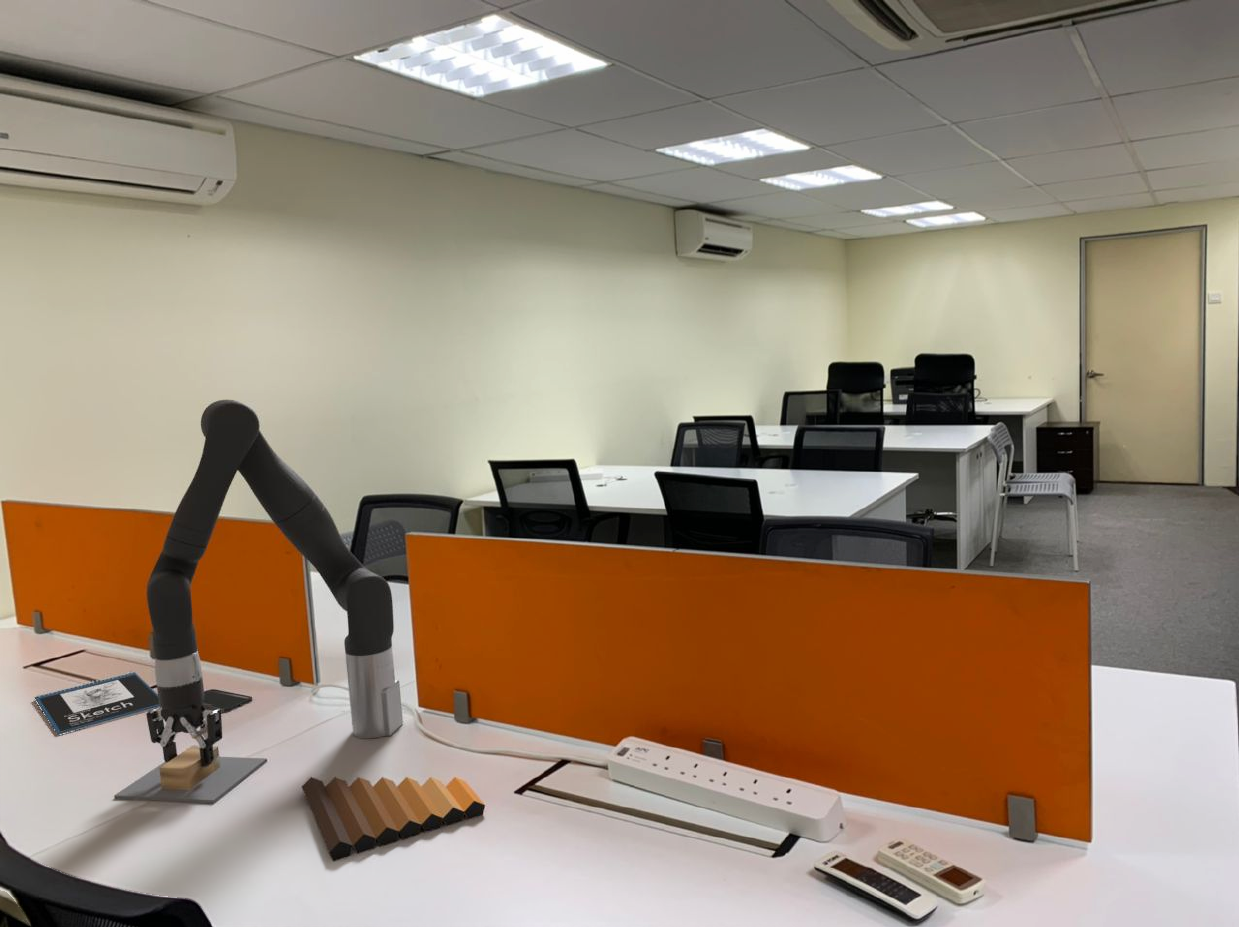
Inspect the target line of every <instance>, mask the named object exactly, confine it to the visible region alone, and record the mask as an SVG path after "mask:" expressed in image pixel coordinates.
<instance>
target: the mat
mask: <svg viewBox="0 0 1239 927" xmlns="http://www.w3.org/2000/svg"><path fill="white" fill-rule="evenodd" d="M178 755H179V754H177V756H178ZM219 758H220V768H218V769H217V770H215V771H214V772H213V773H211V774H210V775H209V776H207V777H206V778H205V779H203V780H202V781H201V782H199V783H198V784H197V785H195V786H194V787H192V788H191V789H190V790H176V789H162V785H161V777H160V769H159V768H160V767H161V766H163V765H164V764H166V762H165V761H164V762H162V763H161V764H159V765H158V766H156V767H155V768H153V769H152V770H150V771H149V772H147V773H146V774H145V775H143V776H141V777H140V778H138V779H137V780H135V781H134V782H132V783H131V784H129V785H127V786H126V787H125V788H123V789H121V790H120V791H119V792H117V793H116V794H114V796H113V798H114V799H115V800H116V799H118V800H134V801H135V800H138V801H154V802H155V801H156V802H175V803H176V802H178V803H180V802H181V803H193V804H194V803H197V804H215V803H217V802H218V801H220V799H222V798H223V797H224V796H225V795H226V794H228V793H229V792H230V791H232V790H233V789H235V788H236V787H237V786H239V784H241V783H242V782H243V781H245V780H246V779H247V778H248V777H250V776H251V775H252V774H253V773H254V772H256V771H257V770H259V768H260V767H262V766H263V765H264V764H266V763H267V762H268V759H267V758H262V757H240V756H239V757H235V756H219Z"/></svg>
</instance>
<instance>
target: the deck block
mask: <svg viewBox="0 0 1239 927" xmlns="http://www.w3.org/2000/svg"><path fill="white" fill-rule="evenodd" d="M199 748H201V747H200V745H191V746H190V747H188V748H186V749H185V750H184V751H182V752H181V753H179V754H177V755H178V756H176V757H175V758H173V759H172V760H170V761H169V762H167V763H166V764H164V765H163V766H161V767H160V768H159V769H160V777H161V785H162V789H176V790H190V789H191V788H192V787H194V786H195V785H197V784H198V783H199V782H201V781H202V780H203V779H205V778H206V777H207V776H209V775H210V774H211V773H213V772H214V771H215V770H217V769H218V768H220V758H219V757H220V752H219V746H217V745H216V746H214V745H213V753H214V760H213V761H212V763H211V764H210V765H208V766H207V767H202V765H201V757H200V749H199Z"/></svg>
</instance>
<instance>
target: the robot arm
mask: <svg viewBox="0 0 1239 927" xmlns="http://www.w3.org/2000/svg"><path fill="white" fill-rule="evenodd" d="M200 429H201V432H202V434H203V437H204V438H205V439H204V442H203V443H204V444H203V447H202V448H203V449H202V453H201V457H200V461H199V463H198V466H197V469H196V472H195V474H194V476H193V478H192V480H191V482H190V484H189V486H188V488H187V489H186V491H185V493H184V494H183V496H182V498H181V500H180V502H179V504H178V506H177V507H176V510H175V513H174V515H173V518H172V520H171V523H170V525H169V528H168V531H167V534H166V536H165V538H164V543H163V547H162V550H161V552H160V554H159V556H158V558H157V560H156V562H155V565H154V567H153V569H152V571H151V573H150V576H149V578H148V581H147V585H146V599H147V600H146V602H147V607H148V613H149V617H150V624H151V628H152V646H153V653H154V654H153V655H154V676H155V682H156V691H157V692H156V693H157V694H158V700H159V706H160V707H161V708H160V707H156V708H155V709H153V710H150V711H147V712H146V714H145V715H146V720H147V726H148V730H149V736H150V737H149V738H150V742H151V743H152V744H156V743H157V744H160V747H162V754H163V760H164V762H166V763H167V762H169V761H170V760H172V759H173V758H175V757H176V756H177V755H178V751H177V743H176V741H175V740H176V737H177V735H178V734H179V733H185V734H189V735H190V736H191V738H192V739H193V740H195V741H196V742H197V743H198V746H200V747H201V748H199V749H200V757H201V765H202V767H207V766H208V765H210V764H211V763H212V761H213V760H214V753H213V746H214V745H215V744H216V743H217V742H219V741H221V740H222V739H223V723H222V712H221V710H220V709H216V710H214V711H213V710H208V709H206V708H205V707H204V704H203V700H204V696H205V695H204V691H205V689H204V688H205V687H204V680H203V679H204V678H203V671H202V663H201V658H200V654H199V651H198V642H197V634H196V628H195V624H194V623H193V622H194V621H193V620H194V619H193V602H192V600H193V599H192V590H191V585H192V581H193V579H194V575H195V574H196V570H197V567H198V564H199V561H200V560H202V558H203V556H204V555H205V553H206V551H207V548H208V545H209V543H210V540H211V537H212V535H213V533H214V529H215V527H216V524H217V522H218V518H219V516H220V513H221V511H222V507H223V505H224V502H225V498H226V496H227V494H228V492H229V489H230V487H231V485H232V482H233V480H234V479H235V476H236V474H237V472H239V473H240V475H241V476H242V478H243V479H244V481H245V482H246V484H247V485H248V486H249V488H250V490H251V491H252V493H253V494H254V496H255V498H256V499H257V501H258V502H259V504H260V505H261V507H262V508H263V509H264V511H265V512H266V513H267V515H268V516H269V518H270V520H271V521H272V522H273V523H274V524H275V526H276V527H277V528H278V529H279V531H280V532H281V533H282V534H283V535H284V537H286V539H287V540H288V541H289V542H290V543H291V544H292V545H293V547H294V548H295V549H296V550H297V551H298V552H299V553H300V554H301V556H303V557H304V558H305V559H306V560H307V561H308V562H309V563H310V564H311V565H312V566H313V567H314V569H315V570H316V571H317V573H318V574H319V576H321V578H322V580H323V581H324V584H326V586H327V587H328V589H329V591H330V592H331V594H332V596H333V598H334V599H335V601H336V602H337V604H338V605H339V607H341V608H342V610H343V611H345V612H346V613H347V617H346V618H347V627H348V630H347V631H348V634H347V635H346V637H345V638H344V640H343V641H344V645H343V646H344V654H345V664H346V676H347V685H348V696H349V705H350V715H351V726H352V734H353V735H354V737H357V738H361V739H374V738H381V737H384V736H385V737H386V736H388V737H389V736H392V735H393V734H394V733H395V732H396V731H397V730H398V729H399V728H400V727H401V726H402V725H403V724H404V719H403V709H402V708H403V707H402V696H401V687H400V686H401V685H400V681H399V679H396V677H395V676H396V675H395V665H394V655H393V654H394V653H393V643H392V642H393V641H392V639H393V638H392V637H393V635H394V631H395V630H394V629H395V628H394V626H395V625H394V608H393V607H394V606H393V605H394V604H393V595H392V590H391V586H390V584H389V582H388V581H387V580H386V579H385V578H384V577H383V576H381V575H380V574H378V573H375V572H372V571H371V570H369V569H368V568H367V567H366V566H365V565H363V564H362V563H361V562H360V561H359V559H358V558H357V557H356V556H355V555H354V554H353V553H352V552H351V550H350V549H349V548H348V547H347V546H346V544H345V543H344V541H343V539H342V537H341V535H340V532H339V530H338V527H337V525H336V523H335V521H334V519H333V517H332V515H331V514H330V511H329V510H328V508H327V507H326V506H325V505H324V503H323V502H322V500H321V499H320V498H319V497H318V495H317V494H316V493H315V492H314V490H313V489H312V488H311V487H310V486H309V484H308V483H307V482H305V480H304V479H303V478H302V477H301V476H300V475H299V474H298V473H296V471H295V470H294V469H293V468H291V466H289V465H288V464H287V463H286V462H285V461H284V460H283V459H282V458H281V457H280V456H279V455H278V454H277V453H276V452H275V451H274V449H273V448H272V447H271V445H270V444H269V443H268V441H267V440H266V438H265V437H264V435H263V433H262V431H260V421H259V417H258V415H257V413H256V411H254V409H253V408H251V406H249V405H247V404H245V403H243V402H240V401H238V400H234V399H221V400H220V399H219V400H216V401H214V402H212V403H210V404H208V406H206V408H205V409H204V410H203V412H202V415H201V418H200ZM164 721H165V722H164ZM164 723H166V724H164ZM198 728H200V730H197V729H198Z"/></svg>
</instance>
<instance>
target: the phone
mask: <svg viewBox="0 0 1239 927" xmlns="http://www.w3.org/2000/svg"><path fill="white" fill-rule="evenodd" d="M204 695H205V696H204V700H203V704H204V707H205V708H206V710H211V711H214V710H216V709H220V710H221V714H222V713H230V712H231V711H234V710H236V709H238V708H240V707H243V706H245V705H248V704H250V703H252V702H253V700H254V699H253V697H252V696H249V695H245V694H239V693H234V692H230V691H224V690H221V689H215V688H210V689H207V690H204Z"/></svg>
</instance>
